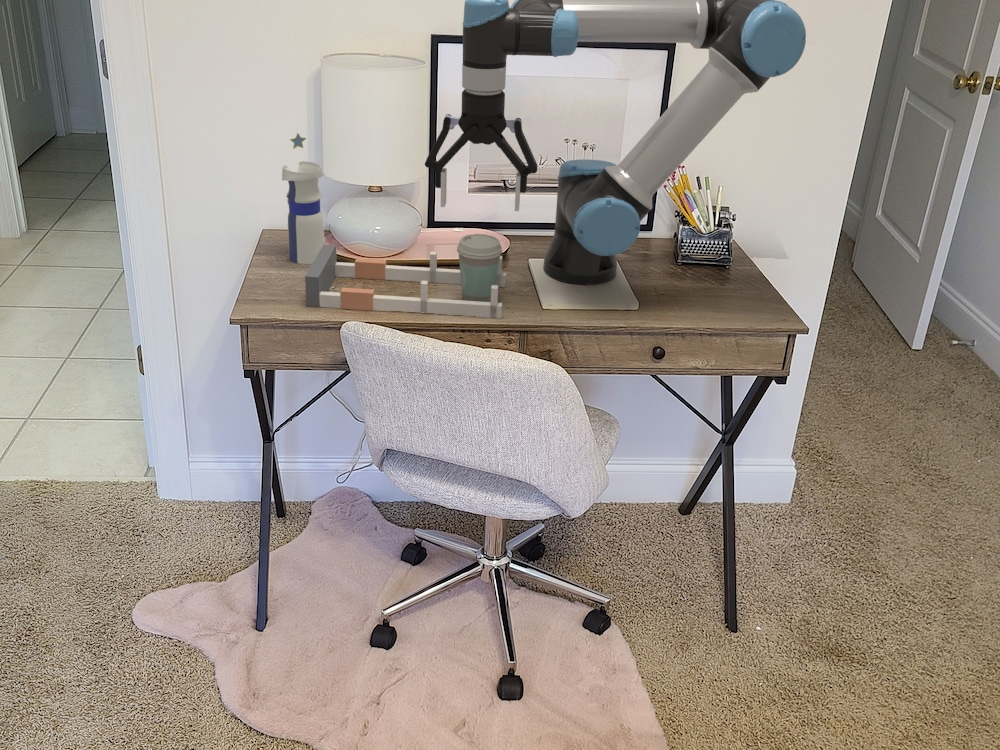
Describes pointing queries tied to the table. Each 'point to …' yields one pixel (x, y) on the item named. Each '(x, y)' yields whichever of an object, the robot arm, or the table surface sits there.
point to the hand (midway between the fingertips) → (480, 207)
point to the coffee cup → (478, 265)
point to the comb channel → (365, 299)
